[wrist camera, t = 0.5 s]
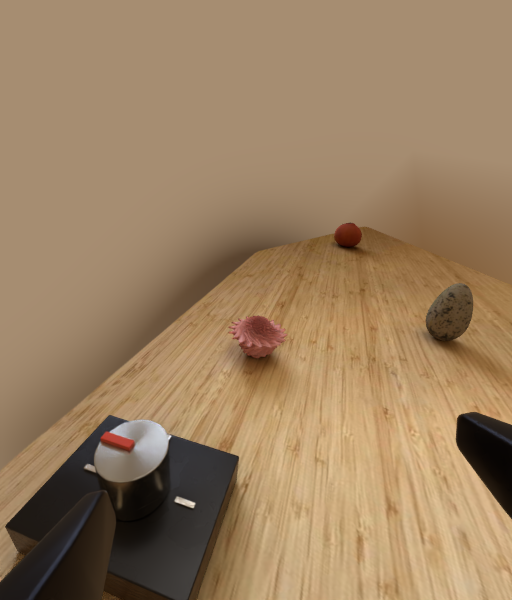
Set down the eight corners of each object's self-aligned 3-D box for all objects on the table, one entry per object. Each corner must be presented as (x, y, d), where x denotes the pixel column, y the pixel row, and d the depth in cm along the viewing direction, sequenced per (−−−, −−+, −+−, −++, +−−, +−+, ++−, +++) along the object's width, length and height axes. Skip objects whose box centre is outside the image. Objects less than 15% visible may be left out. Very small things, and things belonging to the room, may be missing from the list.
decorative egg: (452, 333, 51) (476, 281, 47) (464, 351, 46) (493, 295, 42) (416, 325, 53) (437, 274, 48) (424, 342, 47) (447, 287, 43)
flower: (226, 370, 36) (229, 333, 34) (226, 335, 44) (228, 302, 41) (288, 372, 37) (295, 335, 35) (278, 337, 45) (283, 305, 42)
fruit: (328, 241, 104) (333, 219, 101) (351, 243, 105) (357, 221, 102) (337, 249, 96) (342, 224, 93) (362, 250, 97) (368, 226, 94)
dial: (181, 467, 22) (180, 426, 20) (147, 531, 18) (142, 489, 16) (130, 449, 23) (124, 409, 21) (86, 507, 19) (75, 464, 17)
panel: (236, 479, 24) (239, 454, 23) (186, 629, 16) (186, 605, 15) (113, 437, 27) (109, 413, 25) (17, 551, 19) (3, 524, 17)
